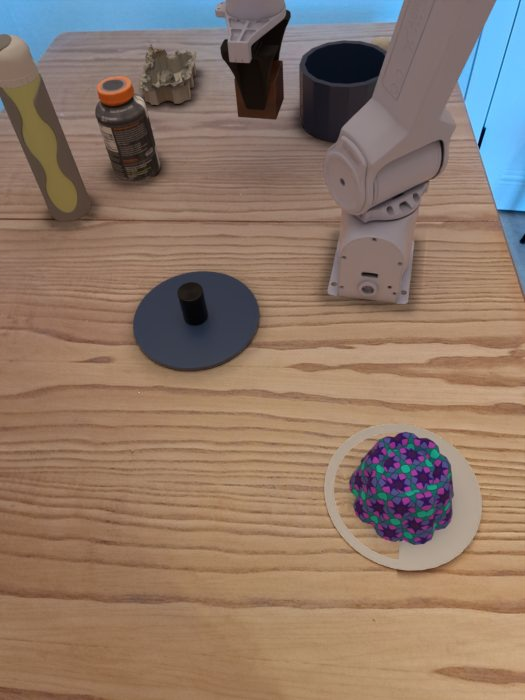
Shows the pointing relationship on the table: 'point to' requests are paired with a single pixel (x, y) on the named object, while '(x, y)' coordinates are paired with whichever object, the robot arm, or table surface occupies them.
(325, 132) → the pot
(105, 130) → the pill bottle
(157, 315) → the lid
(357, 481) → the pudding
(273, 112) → the block
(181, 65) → the egg carton
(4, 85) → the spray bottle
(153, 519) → the table surface
